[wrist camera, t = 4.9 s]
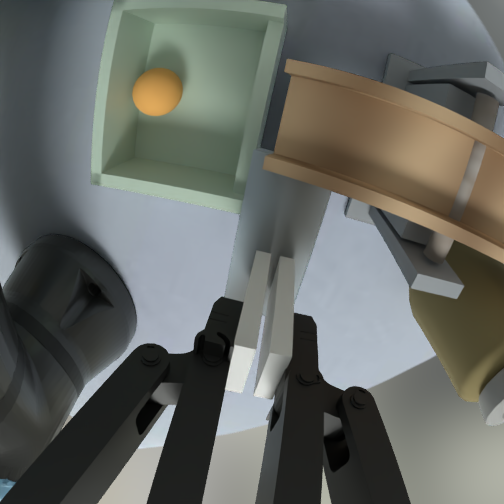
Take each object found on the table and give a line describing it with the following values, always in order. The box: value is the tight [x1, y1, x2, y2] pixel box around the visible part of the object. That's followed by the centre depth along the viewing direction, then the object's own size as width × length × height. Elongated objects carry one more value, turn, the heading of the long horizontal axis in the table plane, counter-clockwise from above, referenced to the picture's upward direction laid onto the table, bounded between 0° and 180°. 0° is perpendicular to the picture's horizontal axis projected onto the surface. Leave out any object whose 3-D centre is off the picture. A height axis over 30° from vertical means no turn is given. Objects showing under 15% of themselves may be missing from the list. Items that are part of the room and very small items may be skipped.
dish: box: [91, 0, 287, 214], centre depth 16 cm, size 10×12×5 cm
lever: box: [224, 59, 504, 316], centre depth 13 cm, size 19×15×6 cm
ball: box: [132, 68, 183, 116], centre depth 16 cm, size 3×3×3 cm
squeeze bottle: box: [409, 240, 504, 426], centre depth 14 cm, size 8×8×18 cm
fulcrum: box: [345, 53, 504, 299], centre depth 14 cm, size 6×12×10 cm, turn 169°
